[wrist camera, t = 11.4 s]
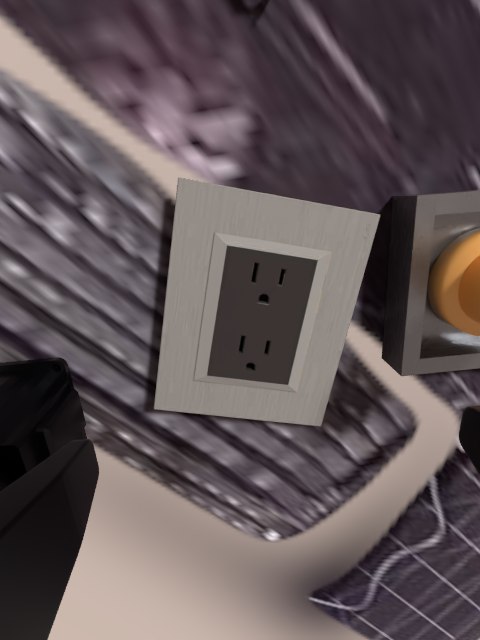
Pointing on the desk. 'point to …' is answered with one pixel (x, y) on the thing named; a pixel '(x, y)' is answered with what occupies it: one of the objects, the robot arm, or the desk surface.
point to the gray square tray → (425, 283)
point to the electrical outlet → (258, 303)
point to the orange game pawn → (458, 283)
